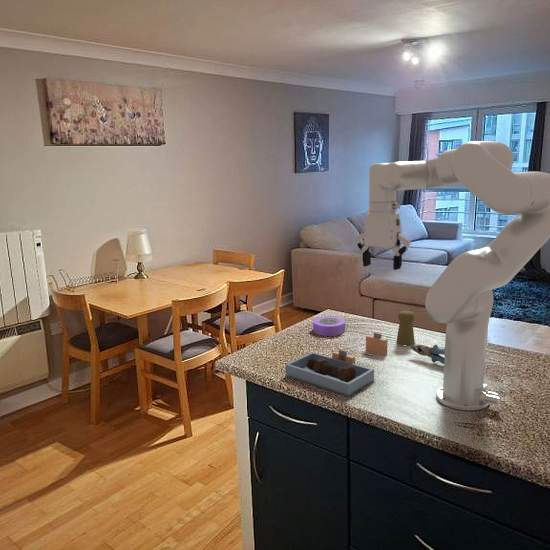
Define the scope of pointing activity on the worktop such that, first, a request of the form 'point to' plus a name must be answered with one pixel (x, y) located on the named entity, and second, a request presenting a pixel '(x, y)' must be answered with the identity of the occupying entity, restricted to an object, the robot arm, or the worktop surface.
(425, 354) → the pliers
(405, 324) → the cork
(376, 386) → the worktop surface
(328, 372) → the bolt
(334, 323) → the masking tape
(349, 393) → the tray
